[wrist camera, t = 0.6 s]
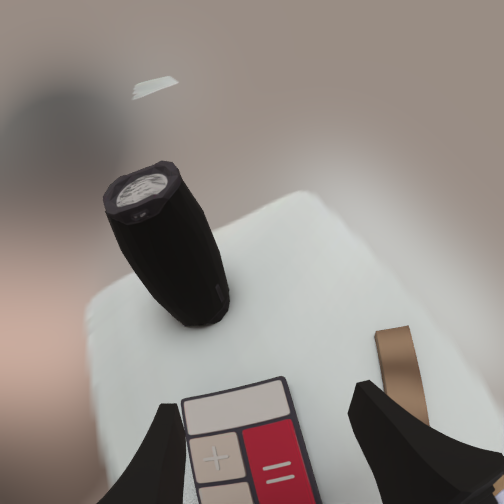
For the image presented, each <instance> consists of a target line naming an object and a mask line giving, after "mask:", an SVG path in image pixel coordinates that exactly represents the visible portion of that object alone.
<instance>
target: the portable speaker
mask: <svg viewBox="0 0 504 504" xmlns="http://www.w3.org/2000/svg"><path fill="white" fill-rule="evenodd" d="M103 202H104V206H105V209H106V211H105V212H106V214H107V217H108V220H109V222H110V225H111V227H112V230H113V232H114V235H115V237H116V240H117V242H118V244H119V247H120V249H121V251H122V253H123V254H124V256H125V258H126V259H127V261H128V262H129V264H130V265H131V267H132V269H133V270H134V272H135V273H136V274H137V276H138V277H139V279H140V280H141V281H142V283H143V284H144V286H145V287H146V288H147V290H148V291H149V292H150V294H151V295H152V296H153V298H154V299H155V300H156V301H157V302H158V303H159V304H160V305H162V306H163V307H164V308H165V309H166V310H167V311H168V312H169V313H170V314H171V315H172V316H174V317H175V318H176V319H177V320H178V321H180V322H181V323H182V324H183V325H184V326H190V325H203V324H207V323H211V324H214V323H217V322H219V321H220V320H221V319H222V318H223V316H224V315H225V314H226V312H227V311H228V308H229V302H230V300H229V288H228V284H227V280H226V276H225V271H224V267H223V263H222V259H221V255H220V252H219V249H218V247H217V244H216V242H215V239H214V237H213V234H212V232H211V229H210V227H209V224H208V222H207V219H206V217H205V215H204V212H203V210H202V208H201V207H200V205H199V204H198V202H197V201H196V199H195V198H194V196H193V195H192V193H191V192H190V190H189V189H188V187H187V186H186V184H185V183H184V181H183V179H182V177H181V175H180V173H179V169H178V168H177V167H176V166H175V165H174V163H173V162H167V161H160V162H158V163H156V164H155V165H152V166H149V167H146V168H143V169H141V170H138V171H136V172H133V173H131V174H128V175H124V176H120V177H119V178H118V179H116V180H115V181H114V182H113V183H112V184H110V186H109V187H108V189H107V191H106V192H105V194H104V196H103Z"/></svg>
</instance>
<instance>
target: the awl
mask: <svg viewBox="0 0 504 504" xmlns="http://www.w3.org/2000/svg"><path fill="white" fill-rule="evenodd" d="M493 486H494V488H495V491H494V492H493V495H494V496H496V495H497V494H498V493H499V492H501V491H502V490H503V489H504V475H503V476H502V477H501V478H500V479H499V480H498V481H497V482H495V483H494V484H493Z"/></svg>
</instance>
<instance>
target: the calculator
mask: <svg viewBox="0 0 504 504" xmlns="http://www.w3.org/2000/svg"><path fill="white" fill-rule="evenodd" d="M181 408H182V415H183V422H184V428H185V435H186V441H187V447H188V452H189V458H190V463H191V468H192V474H193V479H194V483H195V488H196V493H197V497H198V502H199V504H322V501H321V498H320V494H319V491H318V487H317V484H316V481H315V477H314V474H313V470H312V467H311V463H310V460H309V456H308V453H307V450H306V446H305V443H304V439H303V436H302V432H301V429H300V425H299V422H298V418H297V415H296V411H295V408H294V405H293V401H292V398H291V394H290V391H289V387H288V384H287V381H286V379H285V377H283V376H279V377H275V378H272V379H268V380H264V381H261V382H257V383H253V384H249V385H245V386H241V387H237V388H232V389H228V390H224V391H219V392H214V393H210V394H205V395H200V396H195V397H189V398H184V399H182V400H181Z"/></svg>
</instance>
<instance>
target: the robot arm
mask: <svg viewBox="0 0 504 504" xmlns="http://www.w3.org/2000/svg"><path fill="white" fill-rule="evenodd" d="M348 416H349V420H350V423H351V426H352V429H353V432H354V434H355V437H356V439H357V441H358V443H359V445H360V447H361V449H362V451H363V453H364V455H365V458H366V460H367V462H368V464H369V466H370V468H371V470H372V472H373V475H374V477H375V480H376V483H377V486H378V489H379V492H380V495H381V499H382V502H383V504H504V489H503V490H502V491H501V492H499V493H498V494H497V495H496V496H494V495H493V492H494V491H495V488H494V486H493V484H494V483H495V482H497V481H498V480H499V479H500V478H501V477H502V476H503V475H504V456H503V455H502V453H499V452H493V451H489V450H484V449H480V448H477V447H474V446H470V445H467V444H465V443H462V442H460V441H457V440H455V439H453V438H450V437H448V436H446V435H444V434H442V433H440V432H438V431H437V430H435V429H433V428H431V427H430V426H428V425H426V424H425V423H423V422H422V421H420V420H419V419H417V418H416V417H414V416H413V415H412V414H410V413H409V412H408V411H406V410H405V409H404V408H403V407H401V406H400V405H399V404H397V403H396V402H395V401H394V400H393V399H391V398H390V397H389V396H388V395H387V394H385V393H384V392H383V391H382V390H381V389H380V388H378V387H377V386H376V385H375V384H374V383H373V382H371V381H370V380H367V381H363V382H358V383H356V387H355V390H354V394H353V397H352V400H351V404H350V407H349V410H348ZM185 463H186V435H185V430H184V427H183V423H182V420H181V417H180V413H179V410H178V406H177V403H174V404H160V405H159V408H158V410H157V413H156V415H155V417H154V420H153V422H152V424H151V426H150V428H149V430H148V432H147V434H146V436H145V438H144V440H143V442H142V444H141V445H140V447H139V449H138V451H137V452H136V454H135V456H134V457H133V459H132V460H131V462H130V464H129V465H128V467H127V468H126V470H125V471H124V472H123V474H122V475H121V476H120V478H119V479H118V480H117V482H116V483H115V484H114V485H113V486H112V488H111V489H110V490H109V491H108V492H107V493H106V495H105V496H104V497H103V498H102V499H101V500H100V501H99V502H98V503H97V504H183V488H184V475H185Z"/></svg>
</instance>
